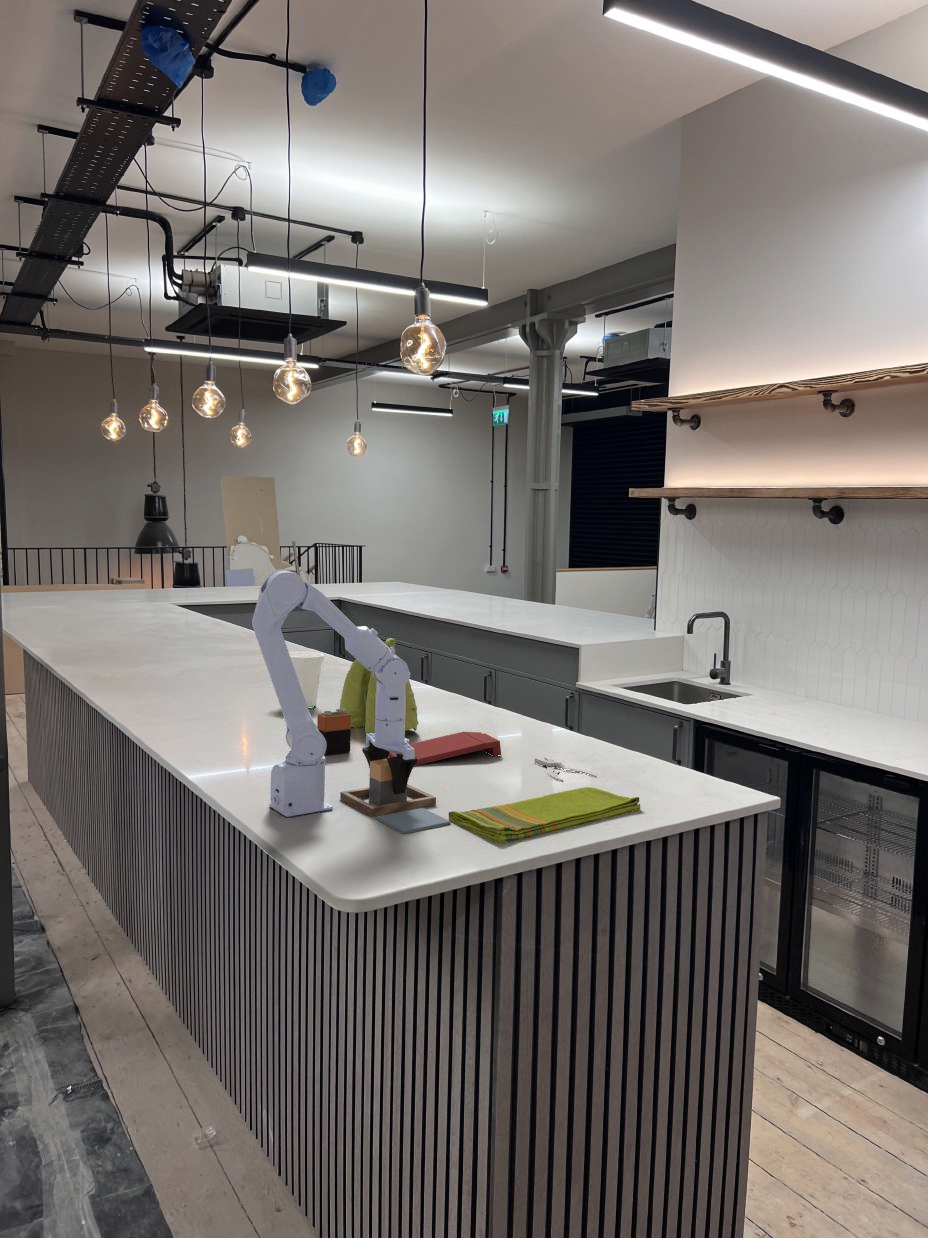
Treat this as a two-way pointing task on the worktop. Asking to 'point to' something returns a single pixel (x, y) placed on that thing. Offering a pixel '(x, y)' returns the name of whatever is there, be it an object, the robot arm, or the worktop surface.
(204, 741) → the worktop surface
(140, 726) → the worktop surface
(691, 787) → the worktop surface
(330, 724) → the battery
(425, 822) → the mat
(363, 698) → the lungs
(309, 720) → the robot arm
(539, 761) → the pliers
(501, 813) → the dish towel
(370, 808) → the frame
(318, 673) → the cup
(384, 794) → the orange grey tall block
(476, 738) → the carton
